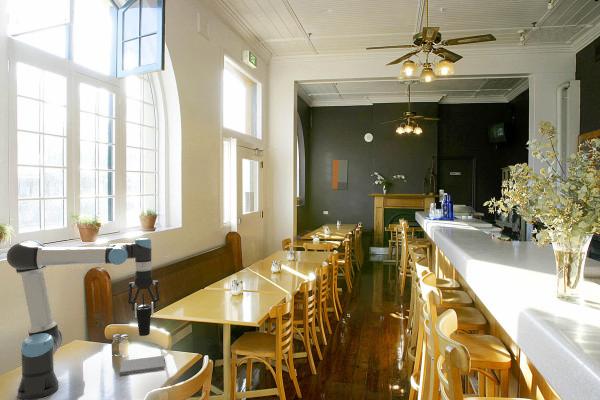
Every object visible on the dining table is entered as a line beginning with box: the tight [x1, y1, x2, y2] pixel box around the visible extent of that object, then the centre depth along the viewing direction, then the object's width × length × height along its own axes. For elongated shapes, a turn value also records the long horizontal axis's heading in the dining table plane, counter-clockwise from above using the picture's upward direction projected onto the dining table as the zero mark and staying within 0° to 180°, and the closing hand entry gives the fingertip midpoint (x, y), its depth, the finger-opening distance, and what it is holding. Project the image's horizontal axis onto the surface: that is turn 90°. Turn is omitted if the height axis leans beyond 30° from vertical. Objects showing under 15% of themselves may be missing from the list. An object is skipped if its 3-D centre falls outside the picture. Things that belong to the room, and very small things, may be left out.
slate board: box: [119, 355, 165, 376], centre depth 210 cm, size 20×14×2 cm
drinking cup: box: [136, 293, 152, 337], centre depth 210 cm, size 8×8×20 cm
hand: (144, 316), depth 210 cm, fingers closed on drinking cup, 7 cm apart
